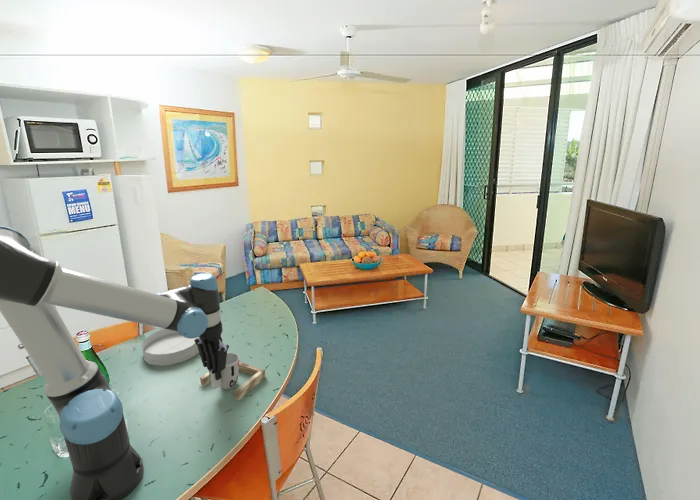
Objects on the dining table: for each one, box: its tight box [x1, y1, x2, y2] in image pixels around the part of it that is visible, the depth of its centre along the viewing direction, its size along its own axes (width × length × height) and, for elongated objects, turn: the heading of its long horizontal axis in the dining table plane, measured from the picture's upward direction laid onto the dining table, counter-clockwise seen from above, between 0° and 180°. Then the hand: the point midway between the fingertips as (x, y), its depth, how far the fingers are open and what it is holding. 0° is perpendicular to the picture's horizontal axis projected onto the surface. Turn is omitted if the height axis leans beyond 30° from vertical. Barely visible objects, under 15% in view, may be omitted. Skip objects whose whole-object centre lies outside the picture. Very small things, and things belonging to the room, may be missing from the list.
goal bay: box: [199, 360, 266, 401], centre depth 129 cm, size 14×17×3 cm
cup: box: [220, 352, 240, 390], centre depth 126 cm, size 8×8×10 cm
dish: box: [141, 328, 199, 366], centre depth 148 cm, size 22×22×5 cm
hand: (216, 386), depth 122 cm, fingers closed
